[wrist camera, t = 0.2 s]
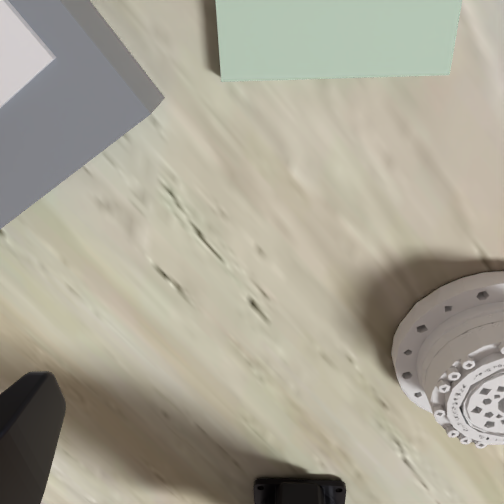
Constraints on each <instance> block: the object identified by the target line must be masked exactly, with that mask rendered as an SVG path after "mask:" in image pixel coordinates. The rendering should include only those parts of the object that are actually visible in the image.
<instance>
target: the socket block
mask: <svg viewBox="0 0 504 504" xmlns="http://www.w3.org/2000/svg"><path fill="white" fill-rule="evenodd" d="M164 98H165V97H164V96H163V95H162V94H161V92H160V91H159V90H158V88H157V87H156V86H155V84H154V83H153V82H152V81H151V79H150V78H149V77H148V75H147V74H146V73H145V72H144V70H143V69H142V68H141V66H140V65H139V64H138V62H137V61H136V60H135V59H134V57H133V56H132V55H131V53H130V52H129V51H128V50H127V48H126V47H125V46H124V44H123V43H122V42H121V40H120V39H119V38H118V37H117V35H116V34H115V33H114V31H113V30H112V29H111V28H110V26H109V25H108V24H107V22H106V21H105V20H104V18H103V17H102V16H101V15H100V13H99V12H98V11H97V9H96V8H95V7H94V6H93V4H92V3H91V2H90V0H0V229H1V228H2V227H4V226H5V225H6V224H8V223H9V222H10V221H12V220H13V219H14V218H15V217H17V216H18V215H19V214H21V213H22V212H23V211H25V210H26V209H27V208H29V207H30V206H31V205H32V204H34V203H35V202H36V201H38V200H39V199H40V198H42V197H43V196H44V195H45V194H47V193H48V192H49V191H51V190H52V189H53V188H55V187H56V186H57V185H59V184H60V183H61V182H62V181H64V180H65V179H66V178H68V177H69V176H70V175H72V174H73V173H74V172H76V171H77V170H78V169H79V168H81V167H82V166H83V165H85V164H86V163H87V162H89V161H90V160H91V159H93V158H94V157H95V156H96V155H98V154H99V153H100V152H102V151H103V150H104V149H106V148H107V147H108V146H110V145H111V144H112V143H113V142H115V141H116V140H117V139H119V138H120V137H121V136H123V135H124V134H125V133H127V132H128V131H129V130H130V129H132V128H133V127H134V126H136V125H137V124H138V123H140V122H141V121H142V120H143V119H145V118H146V117H147V116H149V115H150V114H151V113H152V112H153V111H154V110H155V108H156V107H157V106H158V105H159V104H160V103H161V101H162V100H163V99H164Z"/></svg>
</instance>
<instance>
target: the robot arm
mask: <svg viewBox="0 0 504 504" xmlns="http://www.w3.org/2000/svg"><path fill="white" fill-rule="evenodd" d="M65 410H66V403H65V399H64V397H63V394H62V392H61V390H60V387H59V385H58V383H57V380H56V378H55V376H54V374H52V373H51V372H48V371H35V372H29V373H27V374H25V375H24V376H23V377H21V378H20V379H19V380H18V381H16V382H15V383H14V384H13V385H11V386H10V387H9V388H8V389H6V390H5V391H4V392H3V393H1V394H0V504H40V503H41V500H42V497H43V494H44V491H45V488H46V484H47V481H48V477H49V473H50V469H51V465H52V461H53V458H54V454H55V450H56V446H57V442H58V438H59V435H60V431H61V427H62V423H63V419H64V415H65ZM345 497H346V485H345V483H344V482H342V481H331V480H295V479H256V480H255V481H254V501H255V504H345Z"/></svg>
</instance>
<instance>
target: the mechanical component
mask: <svg viewBox="0 0 504 504" xmlns="http://www.w3.org/2000/svg"><path fill="white" fill-rule="evenodd" d="M391 355H392V360H393V364H394V368H395V372H396V376H397V379H398V382H399V384H400V387H401V389H402V390H403V392H404V393H405V394H406V395H407V397H408V398H409V399H410V400H411V401H412V402H414V403H415V404H416V405H418V406H419V407H420V408H422V409H424V410H426V411H428V412H430V413H432V414H433V415H434V417H435V419H436V421H437V422H438V423H439V424H440V425H441V426H442V427H443V428H444V429H445V430H446V432H447V435H448V436H449V437H458V438H459V440H460V442H461V443H462V444H469V443H470V442H474V443H475V445H476V448H484V447H486V446H487V445H496V444H504V271H497V272H484V273H480V274H476V275H471V276H467V277H463V278H460V279H458V280H456V281H453V282H451V283H449V284H446V285H444V286H441V287H440V288H438V289H437V290H435V291H434V292H432V293H431V294H429V295H428V296H426V297H425V298H423V299H422V300H420V301H419V302H417V303H416V304H415V305H414V307H413V308H412V309H411V310H410V312H409V313H408V314H407V315H406V317H405V318H404V319H403V320H402V322H401V323H400V324H399V326H398V329H397V331H396V333H395V335H394V339H393V346H392V352H391Z"/></svg>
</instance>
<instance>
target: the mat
mask: <svg viewBox="0 0 504 504" xmlns="http://www.w3.org/2000/svg"><path fill="white" fill-rule="evenodd" d="M215 1H216V15H217V29H218V43H219V58H220V72H221V82H232V81H266V80H300V79H333V78H367V77H401V76H434V75H450V69H451V63H452V57H453V51H454V46H455V40H456V34H457V28H458V22H459V16H460V10H461V4H462V0H215Z"/></svg>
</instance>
